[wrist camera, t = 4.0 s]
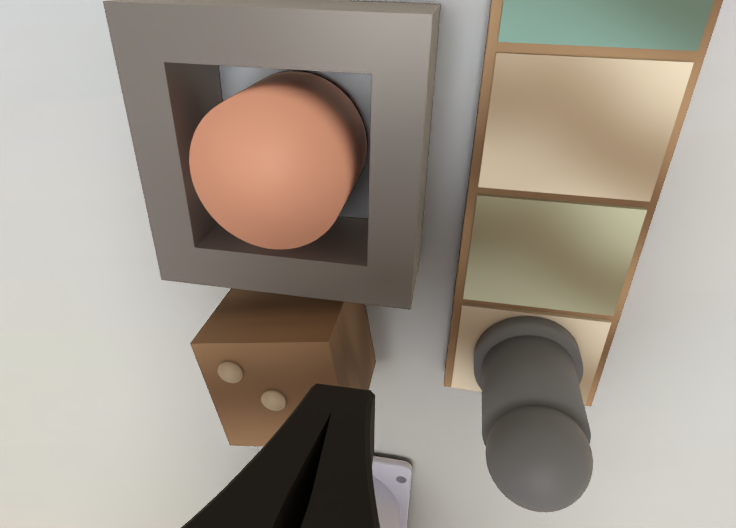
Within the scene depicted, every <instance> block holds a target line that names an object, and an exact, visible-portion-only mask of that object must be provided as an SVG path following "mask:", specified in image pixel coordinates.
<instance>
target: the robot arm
mask: <svg viewBox="0 0 736 528" xmlns="http://www.w3.org/2000/svg"><path fill="white" fill-rule="evenodd" d="M374 420H375V395H374V394H373V393H372V392H371V391H370V390H364V389H356V388H348V387H340V386H333V385H325V384H317V383H316V384H315V385H313V386H312V387H311V388H310V390H309V391H308V392H307V394H306V395H305V396H304V398H303V399H302V400H301V402H300V403H299V404H298V406H297V407H296V408H295V410H294V411H293V412H292V413H291V415H290V416H289V417H288V418H287V420H286V421H285V422H284V423H283V425H282V426H281V427H280V428H279V429H278V431H277V432H276V433H275V434H274V435H273V436H272V437H271V439H270V440H269V441H268V442H267V443H266V444H265V446H259V452H258V454H257V455H256V456H255V457H254V458H253V459H252V460H251V461H250V462H249V463H248V464H247V465H246V466H245V467H244V468H243V469H242V470H241V472H240V473H239V474H238V475H237V476H236V477H235V478H234V479H233V480H232V481H231V482H230V483H229V484H228V485H227V486H226V487H225V488H224V489H223V490H222V491H221V492H220V493H219V494H218V495H217V496H216V497H215V498H214V499H213V500H212V501H210V502H209V503H208V504H207V505H206V506H205V507H204V508H203V509H202V510H201V511H200V512H198V513H197V514H196V515H195V516H194V517H193V518H192V519H191V520H189V521H188V522H187V523H186V524H185V525H184V526H183V527H181V528H407V521H408V511H409V500H410V490H411V479H412V466H411V464H410V463H408V462H406V461H403V460H397V459H391V458H384V457H378V456H374ZM402 476H403V477H402Z"/></svg>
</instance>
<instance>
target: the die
mask: <svg viewBox="0 0 736 528" xmlns="http://www.w3.org/2000/svg"><path fill="white" fill-rule="evenodd" d="M190 344H191V347H192V349H193V352H194V354H195V357H196V360H197V362H198V365H199V367H200V370H201V372H202V375H203V377H204V380H205V383H206V385H207V388H208V390H209V393H210V395H211V398H212V400H213V403H214V406H215V408H216V411H217V413H218V416H219V418H220V421H221V423H222V426H223V429H224V431H225V434H226V436H227V439H228V441H229V444H230V445H237V446H265V444H266V443H267V442H268V441H269V440H270V439H271V437H272V436H273V435H274V434H275V433H276V432H277V431H278V429H279V428H280V427H281V426H282V425H283V423H284V422H285V421H286V420H287V418H288V417H289V416H290V415H291V413H292V412H293V411H294V410H295V408H296V407H297V406H298V404H299V403H300V402H301V400H302V399H303V398H304V396H305V395H306V394H307V392H308V391H309V390H310V388H311V387H312V386H313V385H315V384H316V383H317V384H325V385H333V386H340V387H348V388H356V389H364V390H369V386H370V382H371V378H372V374H373V370H374V366H375V362H376V360H375V355H374V350H373V344H372V339H371V333H370V328H369V322H368V317H367V312H366V306H365V304H360V303H351V302H343V301H335V300H326V299H318V298H310V297H301V296H293V295H284V294H276V293H268V292H259V291H251V290H243V289H234V288H231V289H230V291H229V292H228V293H227V295H226V296H225V297H224V299H223V300H222V301H221V303H220V304H219V306H218V307H217V308H216V310H215V311H214V312H213V314H212V315H211V316H210V318H209V319H208V320H207V322H206V323H205V324H204V326H203V327H202V328H201V330H200V331H199V333H198V334H197V335H196V337H195V338H194V339H193V341H192V342H191V343H190Z"/></svg>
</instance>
